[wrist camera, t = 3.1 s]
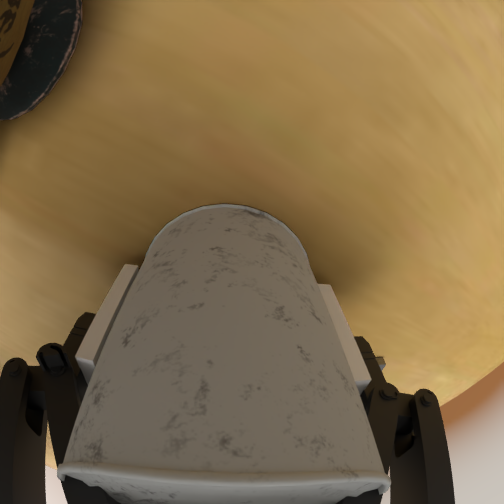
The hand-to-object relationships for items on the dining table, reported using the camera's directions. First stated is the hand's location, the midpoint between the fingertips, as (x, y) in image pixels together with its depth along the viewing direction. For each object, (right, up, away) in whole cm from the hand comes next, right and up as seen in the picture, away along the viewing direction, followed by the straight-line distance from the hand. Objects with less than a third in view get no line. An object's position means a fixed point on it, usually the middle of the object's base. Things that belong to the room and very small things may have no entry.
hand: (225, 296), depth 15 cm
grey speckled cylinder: (0, +1, +1) cm, 1 cm away
